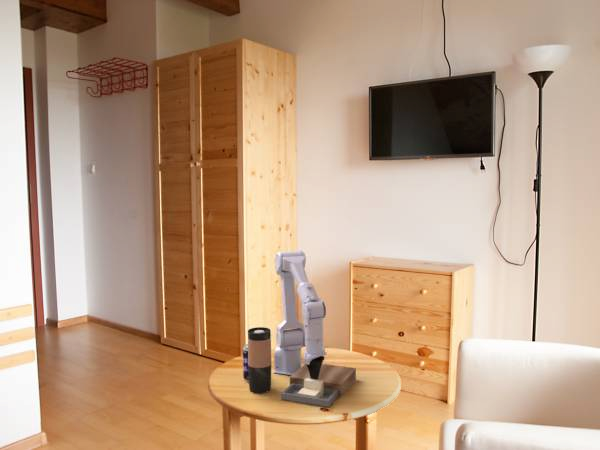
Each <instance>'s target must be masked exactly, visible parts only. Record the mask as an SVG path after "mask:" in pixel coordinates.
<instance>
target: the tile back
mask: <svg viewBox="0 0 600 450" xmlns="http://www.w3.org/2000/svg"><path fill="white" fill-rule="evenodd" d="M304 388H307V389H314V390H320V397H322V396H323V394H324V384H323V381H322V380H315V379H309V378H306V379H305V380H304Z"/></svg>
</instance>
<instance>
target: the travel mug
mask: <svg viewBox="0 0 600 450" xmlns="http://www.w3.org/2000/svg"><path fill="white" fill-rule="evenodd" d="M271 333H272V332H271V328H268V327H265V326H264V327H261V326H258V327H251V328H249V329H248V330H247V344H248V370H249V381H248V386H249V387H248V388H249V391H250V392H251V393H252V392H253V394H259V395H260V394H267V393H268V392H270V391H271V390H272V334H271Z"/></svg>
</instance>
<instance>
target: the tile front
mask: <svg viewBox="0 0 600 450" xmlns="http://www.w3.org/2000/svg"><path fill="white" fill-rule="evenodd" d="M297 395H302V396H309V397H315V398H319V397H320V390H314V389H307V388H302V389H301V390H300V391H299V392H298V393H297Z"/></svg>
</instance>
